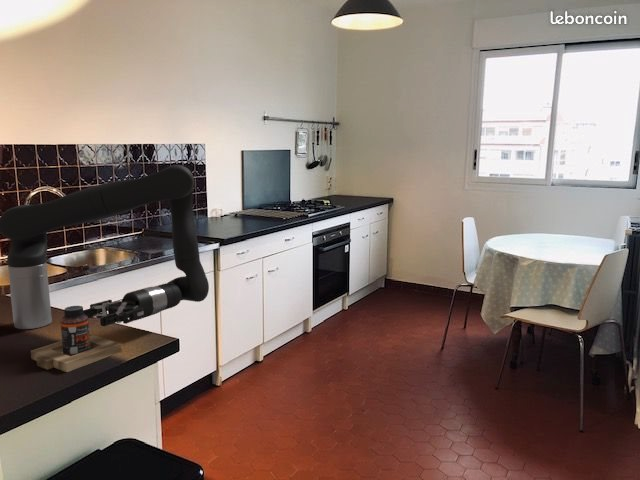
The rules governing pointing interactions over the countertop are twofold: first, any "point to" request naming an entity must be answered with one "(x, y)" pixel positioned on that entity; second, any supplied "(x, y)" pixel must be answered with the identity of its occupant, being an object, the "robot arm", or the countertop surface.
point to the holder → (55, 357)
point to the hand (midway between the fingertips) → (90, 319)
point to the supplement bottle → (75, 331)
